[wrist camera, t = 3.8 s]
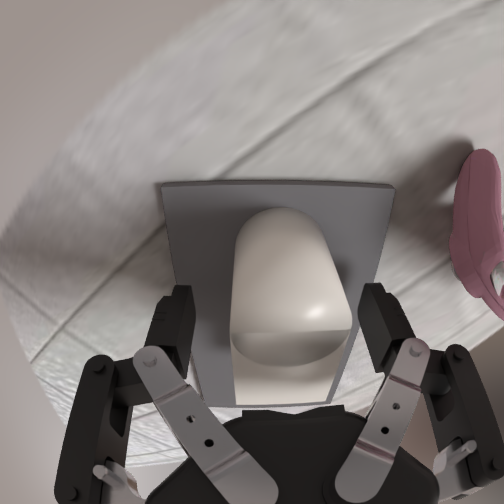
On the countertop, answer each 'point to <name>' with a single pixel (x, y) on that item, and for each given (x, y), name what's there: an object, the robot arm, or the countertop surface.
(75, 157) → the countertop surface
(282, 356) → the plug block
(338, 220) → the rubber mat
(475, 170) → the video game controller
